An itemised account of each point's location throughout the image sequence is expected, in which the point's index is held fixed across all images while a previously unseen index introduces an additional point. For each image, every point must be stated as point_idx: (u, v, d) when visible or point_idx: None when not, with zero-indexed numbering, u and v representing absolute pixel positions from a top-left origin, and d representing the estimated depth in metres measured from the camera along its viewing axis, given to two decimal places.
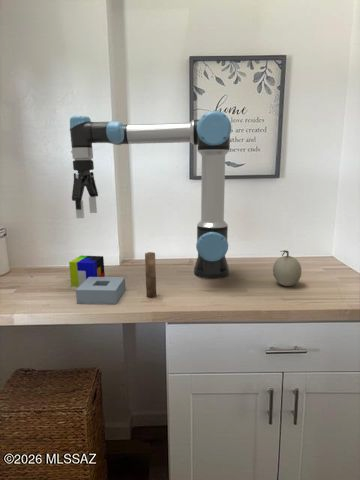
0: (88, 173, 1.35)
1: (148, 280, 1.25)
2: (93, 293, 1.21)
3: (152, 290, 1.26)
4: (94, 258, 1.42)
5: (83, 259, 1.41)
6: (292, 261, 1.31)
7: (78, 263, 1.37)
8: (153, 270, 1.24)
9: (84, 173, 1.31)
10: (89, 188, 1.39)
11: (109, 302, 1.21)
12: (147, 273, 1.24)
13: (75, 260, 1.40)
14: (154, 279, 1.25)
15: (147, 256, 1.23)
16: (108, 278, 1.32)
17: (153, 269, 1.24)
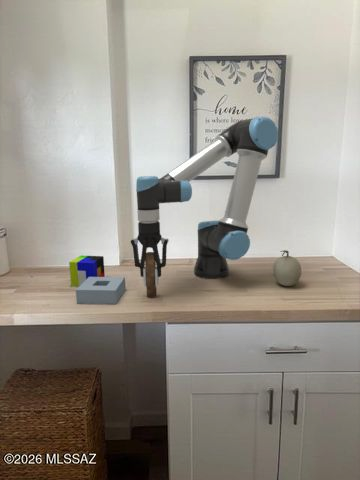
0: (155, 234, 1.22)
1: (148, 280, 1.25)
2: (93, 293, 1.21)
3: (152, 290, 1.26)
4: (94, 258, 1.42)
5: (83, 259, 1.41)
6: (292, 261, 1.31)
7: (78, 263, 1.37)
8: (153, 270, 1.24)
9: (141, 235, 1.22)
10: None
11: (109, 302, 1.21)
12: (147, 273, 1.24)
13: (75, 260, 1.40)
14: (154, 279, 1.25)
15: (147, 256, 1.23)
16: (108, 278, 1.32)
17: (153, 269, 1.24)
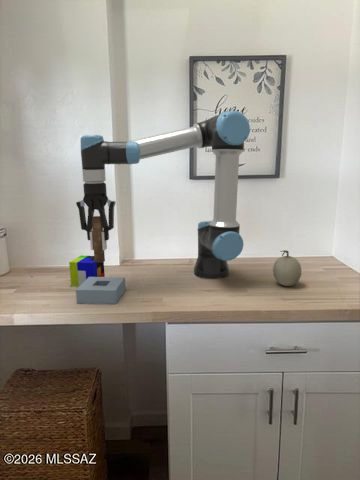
0: (100, 196, 1.19)
1: (95, 244, 1.22)
2: (93, 293, 1.21)
3: (99, 255, 1.23)
4: None
5: (83, 259, 1.41)
6: (292, 261, 1.31)
7: (78, 263, 1.37)
8: (100, 234, 1.22)
9: (86, 196, 1.19)
10: None
11: (109, 302, 1.21)
12: (94, 237, 1.22)
13: (75, 260, 1.40)
14: (101, 243, 1.23)
15: (93, 219, 1.20)
16: (108, 278, 1.32)
17: (100, 233, 1.22)
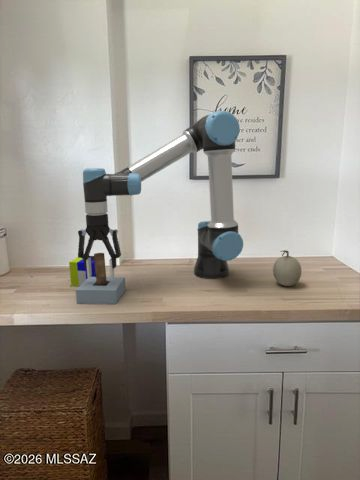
0: (102, 227, 1.21)
1: (98, 280, 1.25)
2: (93, 293, 1.21)
3: None
4: None
5: None
6: (292, 261, 1.31)
7: (78, 263, 1.37)
8: (102, 270, 1.25)
9: (89, 228, 1.22)
10: None
11: (109, 302, 1.21)
12: (97, 274, 1.25)
13: (75, 260, 1.40)
14: (104, 279, 1.26)
15: (96, 256, 1.23)
16: (108, 278, 1.32)
17: (102, 269, 1.25)
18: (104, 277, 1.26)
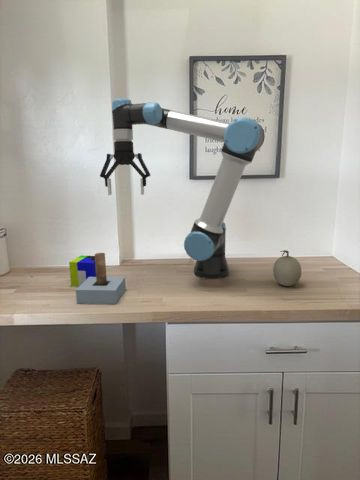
0: (127, 154, 1.39)
1: (98, 280, 1.25)
2: (93, 293, 1.21)
3: None
4: (94, 258, 1.42)
5: (83, 259, 1.41)
6: (292, 261, 1.31)
7: (78, 263, 1.37)
8: (103, 270, 1.25)
9: (117, 154, 1.39)
10: None
11: (109, 302, 1.21)
12: (97, 274, 1.25)
13: (75, 260, 1.40)
14: (104, 279, 1.26)
15: (96, 257, 1.23)
16: (108, 278, 1.32)
17: (103, 269, 1.25)
18: (104, 277, 1.26)
